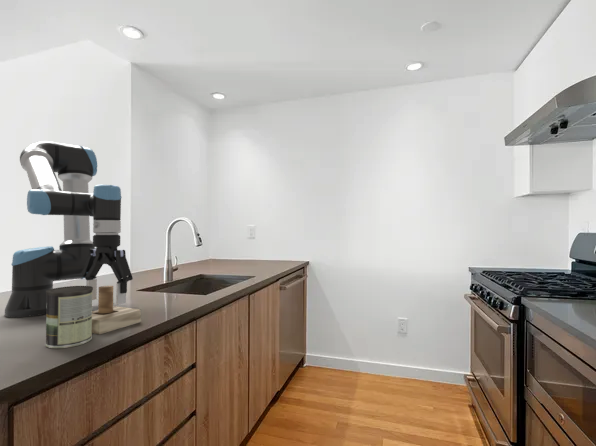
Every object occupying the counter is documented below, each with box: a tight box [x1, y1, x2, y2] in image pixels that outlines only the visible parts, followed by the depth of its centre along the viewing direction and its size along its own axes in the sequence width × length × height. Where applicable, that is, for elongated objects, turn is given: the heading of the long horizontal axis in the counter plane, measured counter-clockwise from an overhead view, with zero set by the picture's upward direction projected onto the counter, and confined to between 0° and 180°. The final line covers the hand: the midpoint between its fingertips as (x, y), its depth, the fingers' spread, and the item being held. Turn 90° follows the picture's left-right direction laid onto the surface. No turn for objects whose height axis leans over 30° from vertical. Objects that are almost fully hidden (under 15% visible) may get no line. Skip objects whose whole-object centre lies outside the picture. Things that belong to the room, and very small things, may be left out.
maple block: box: [92, 305, 142, 335], centre depth 103 cm, size 12×14×4 cm
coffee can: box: [45, 285, 93, 350], centre depth 89 cm, size 10×10×14 cm
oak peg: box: [97, 285, 114, 315], centre depth 104 cm, size 4×4×12 cm
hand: (106, 302), depth 104 cm, fingers open, 13 cm apart
